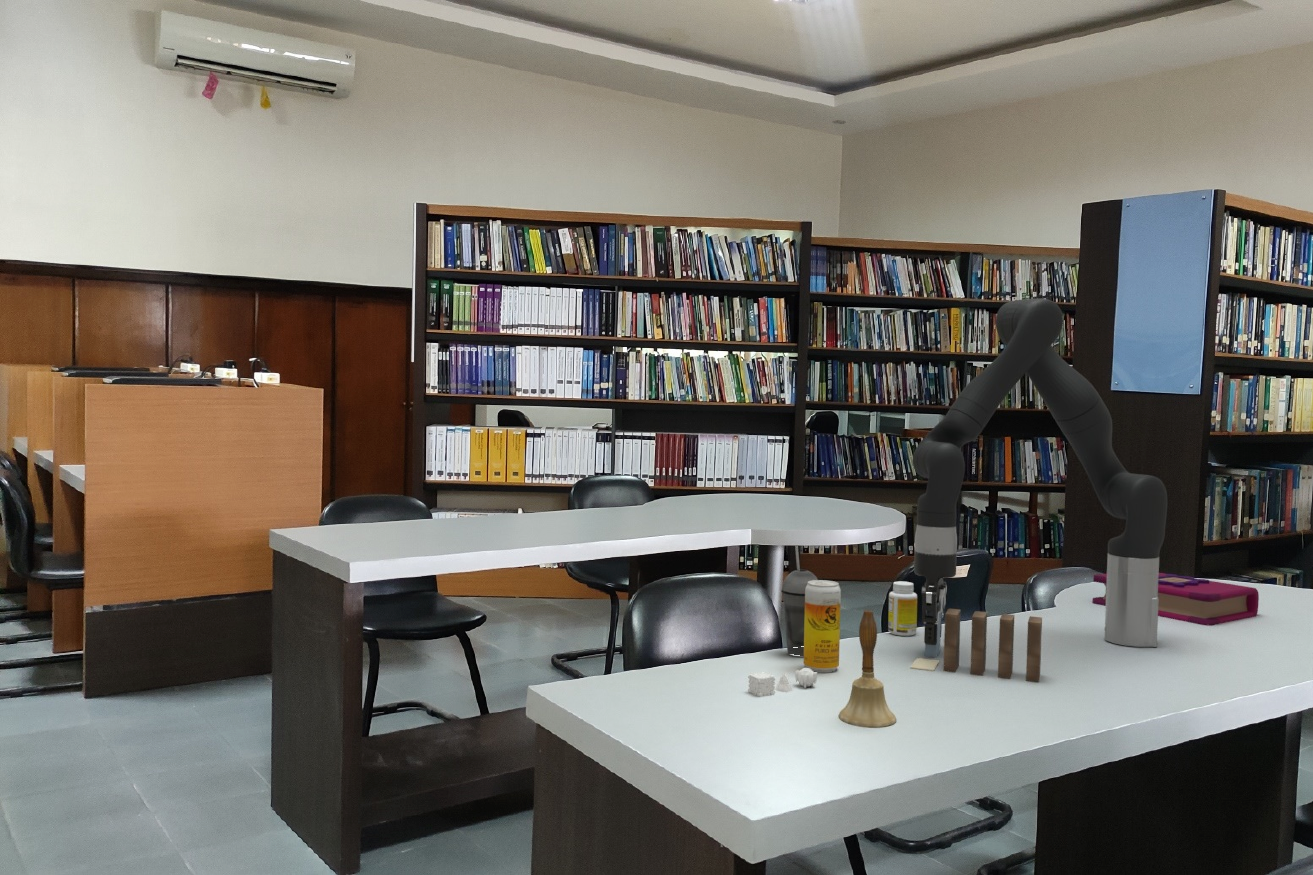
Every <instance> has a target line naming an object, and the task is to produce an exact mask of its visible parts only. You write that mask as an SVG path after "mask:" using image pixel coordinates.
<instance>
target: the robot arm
mask: <svg viewBox="0 0 1313 875" xmlns="http://www.w3.org/2000/svg"><path fill="white" fill-rule="evenodd" d="M1063 326H1064V314H1063V312H1062V309H1061V308H1060V306H1059V305H1058V303H1056V302H1054V301H1053V300H1051V299H1046V298H1041V297H1040V298H1026V299H1024V298H1023V299H1015V300H1011V301H1008V302H1005V303H1004V304H1002V306H1001V307H1000V308H999V309H998V311H997V314H996V317H995V328H996V331H997V335H998V337H999V339H1000V341H1001V342H1002V344H1004V346H1005V347H1004V348H1003V350H1002V351H1001V352H1000V354H999V355H998V356H997V357H996V358H995V359H994V360H993V361H992V362H991V363H990V364H989V365H987V366H986V368H984V369H983V370H982V371H981V372H980V373H978V374H977V375H976V376H975V377H974V378H972V380H970V381H969V382H968V384H966V386H964V388H963V389H962V391H961V392H960V393H959V395H957V398H956V399H955V401H954V402H953V403H952V405H951V406H950V408H949V410H948V411H947V412H946V415H945V416H944V417H943V418H942V420H940V421H939V422H938V423H937V424H936V425H935V426H934V427H933V428H932V429H931V430H930V431H929V432H928V433H927V434H926V435H925V436H924V437H923V438H922V440H921V441H920V442H919V443H918V445H917V446H916V449H915V450H914V452H913V456H912V466H913V469H914V471H915V472H916V473H917V475H919V476H920V477H922V478H924V479H927V483H926V484H927V485H926V491H925V493H922V494H921V495H920V496H919V497H918V498H917V508H916V529H915V535H914V553H913V554H914V556H913V557H914V561H913V562H914V563H913V572H914V574H915V576H916V575H917V576H919V577H925V583H924V585H922V587H921V606H922V607H921V613H922V614H921V620H922V623H923V624H924V633H923V634H924V635H923V636H924V638H923V642H924V645H925V644H928V645H936V644H937V630H938V623H939V620H938V617H939V613H940V612H941V632H940V639H941V637H942V625H943V621H942V620H943V618H944V617H945V611H946V595H947V590H948V588H947V587H948V586H947V582H946V581H944V579H949V578H953V577H955V576H956V575H957V550H958V535H957V504H958V500H959V497H960V493H961V489H962V485H963V482H964V478H965V471H966V465H965V464H966V463H965V458H964V454H963V452H962V451H961V449H962V447H963V446H964V445H966V444H968V443H970V442H972V441H975V440H976V439H977V438H978V437H979V436H980V435H981V433H983V432H982V431H983V430H984V429H985V427H986V426H987V424H988V422H989V421H990V420H991V418H992V417H993V415H994V414H995V412H996V410H997V409H998V407H999V406H1000V404H1001V403H1002V402H1003V400H1004V399H1005V398H1006V397H1007V395H1008V394H1009V393H1010V391H1011V390H1012V389H1013V388H1014V387H1015V385H1017V383H1018V382H1019V381H1020V380H1021V379H1022V378H1023V376H1024V375H1025V374H1026V375H1027V376H1028V378H1029V379H1030V381H1031V382H1032V384H1033V386H1034V388H1035V390H1036V391H1037V393H1038V394H1039V396H1040V397H1041V399H1042V401H1043V402H1044V404H1045V406H1046V407H1047V409H1048V410H1049V412H1050V414H1051V416H1052V417H1053V419H1054V420H1055V421H1054V422H1056V424H1057V426H1058V427H1059V429H1060V430H1061V432H1062V435H1063V436H1065V438H1066V440H1067V441H1068V443H1069V444H1070V446H1071V448H1072V450H1073V451H1074V454H1075V455H1076V457H1077V458H1078V460H1079V461H1080V463H1081V465H1082V467H1083V468H1084V470H1085V472H1086V474H1087V477H1088V479H1089V480H1090V483H1091V485H1092V487H1093V489H1094V492H1095V494H1096V496H1097V498H1098V500H1099V502H1100V504H1101V506H1102V507H1103V509H1104V510H1105V511H1106V513H1108V514H1109V515H1110V516H1112V517H1114V518H1116V519H1121V520H1126V523H1125V529H1124V531H1123V533H1121V534H1120V535H1118V536H1115V537H1112V538H1109V540H1108V542H1107V559H1106V560H1107V562H1106V574H1107V586H1105V594H1106V606H1105V613H1104V614H1105V615H1104V616H1105V620H1104V621H1105V622H1104V625H1105V626H1104V640H1106V641H1107V642H1109V643H1113V644H1116V645H1122V646H1127V647H1136V648H1138V647H1140V648H1141V647H1142V648H1145V647H1148V648H1149V647H1154V648H1157V647H1158V628H1159V627H1158V623H1159V616H1158V601H1159V599H1158V576H1159V573H1160V572H1159V571H1160V570H1159V568H1160V551H1161V548H1162V546H1163V544H1164V540H1165V536H1166V524H1167V514H1168V513H1167V512H1168V492H1167V489H1166V486H1165V484H1164V482H1163V481H1162V480H1161V479H1160V478H1158V477H1157V476H1154V475H1149V474H1142V473H1141V474H1139V473H1132V472H1131V473H1130V472H1129V471H1128V470H1126V468H1125V467H1124V466H1123V464H1122V462H1120V459H1119V458H1118V457H1117V454H1116V453H1115V451H1114V448H1113V442H1112V441H1113V419H1112V415H1111V413H1110V411H1109V409H1108V408H1107V406H1106V404H1105V402H1104V400H1103V399H1102V397H1101V396H1100V394H1099V392H1098V391H1097V390H1096V388H1095V386H1093V384H1092V383H1091V382H1090V381H1089V380H1088V379H1087V378H1086V377H1085V376H1083V375H1082V373H1079V372H1078V371H1077V370H1076V369H1075V368H1074V367H1073V366H1071V365H1070V364H1069V363H1067V362H1066V360H1064V359H1063V358H1062V357H1061V356H1060V355H1059V354H1058V353H1057V351H1056V350H1055V348H1054V347H1053V344H1054V343H1055V341H1056V340H1057V339H1058V338H1059V335H1060V334H1061V332H1062V329H1063ZM937 603H938V604H939V605H938V607H937ZM928 611H932V612H933V616H927V614H928Z"/></svg>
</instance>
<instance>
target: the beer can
mask: <svg viewBox="0 0 1313 875" xmlns="http://www.w3.org/2000/svg"><path fill="white" fill-rule="evenodd" d="M839 584H840V583H839V582H838V581H837V582H836V581H833V580H827V579H826V580H825V579H824V580H823V579H818V580H813V581H809V582H808V584H807V586H806V588H805V621H804V657H803V664H804V666H805V668H809V669H811V670H812V671H813V672H814V671H817V673H832V671H833V672H835V671H836V670H837V668H838V667H839V666H840V635H841V601H842V600H841V598H842V597H841V595H842V590H841V587H840V585H839Z"/></svg>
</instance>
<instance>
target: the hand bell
mask: <svg viewBox="0 0 1313 875" xmlns="http://www.w3.org/2000/svg"><path fill="white" fill-rule="evenodd" d="M859 623H860V624H859V628H858V629H859V630H858V637H859V644H860V648H861V652H862V659H861V660H862V663H861V671H862V672H861V673H862V675H861V677H859V678H857V679H854V680H853V681H852V686H851V691H850V696H849V698H848V701H847V703H846V705H845V706H844V707H843V708H842V709H841V710H840V711H839V712H838V718H839V719H840V721H842V722H844V723H847V724H849V725H853V726H856V727H863V728H885V727H890V726H892V725H894V724H895V723H896V722H897V718H896V715H895V714H894V713H893V711H891V709H890V707H889V705H888V703H887V700H886V696H885V688H884V683H883V682H882V681H881V680H879V679H877V678H876V677H875V671H874V670H875V668H874V653H875V652H874V651H875V647H876V645H877V638H878V626H877V622H876V619H875V617H874V612H873V610H871V609H865V610H863V614H862V616H861V620H860V622H859Z"/></svg>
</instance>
